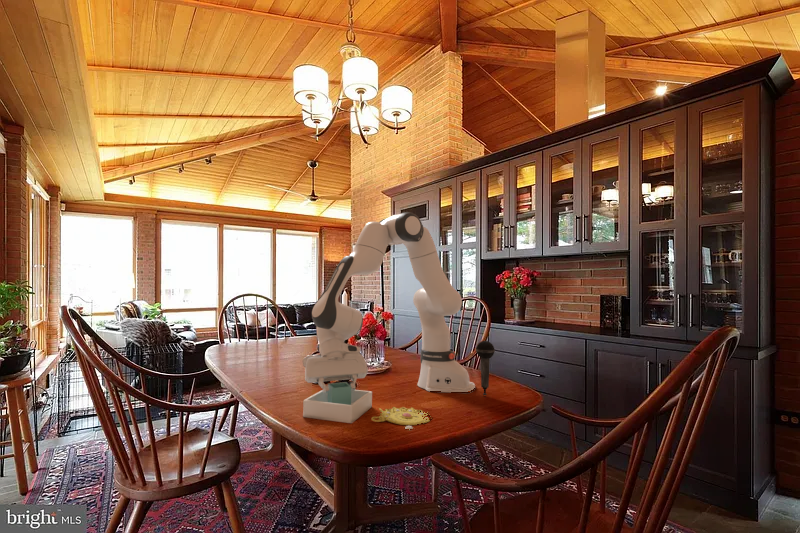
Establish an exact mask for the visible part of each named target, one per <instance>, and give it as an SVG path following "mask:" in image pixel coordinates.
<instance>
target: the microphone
mask: <svg viewBox="0 0 800 533" xmlns="http://www.w3.org/2000/svg"><path fill="white" fill-rule="evenodd" d="M475 351H476V354H477V356H478V357H479V358H480V383H481V384H480V386H481V388H482V389H483V394H482V395H487V390H488V389H489V387H490V384H489V382H490V365H491V364H490V362H491V358H492V357H493V356H494V354H495V352H496V349H495V347H494V345H493V343H492V342H491V341H488V340H483V341H480V342H478V344H477V345H476V347H475Z"/></svg>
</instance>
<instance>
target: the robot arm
mask: <svg viewBox="0 0 800 533" xmlns="http://www.w3.org/2000/svg"><path fill="white" fill-rule="evenodd" d="M422 223H423V222H422V221H421V219H420V217H419V216H418V215H417V214H415V213H414V212H407V211H406V212H401V213H396V214H393V215H391V216H389V217H387V218H384V219H381V220H379V221H369V222H367V223H365V225H364V226H363V228H362V230H361V232H360V233H359V235H358V237H357V241H356V243H355V245H354V248H353V250H352V251H351V253H350V254H349V255H346V256H344V257H343V258H342V259H341V260H340V261H339V263H338V264H337V266H336V267H335V269H334V272H333V273H332V275H331V277H330V279H329V281H328V283H327V284H326V286H325V288H324V290H323V292H322V293H321V295H320V296H319V298H318V299H317V300H316V302H315V303H314V305H313V307H312V309H311V312H310V314H311V319H312V321H313V324H314V326H316V327H315V329H316V338H317V341H318V343H319V344H318V350H319V354H312V355H311V354H309V355H306V356H305V357H303V358H302V365H303V367H304V381H305V382H307V383H309V384H311V383H318V386H319V387H320V388H321V389H322V390H323V393H329V386H328V384H327V385H326V384H325V383H324V382H331V381H332V382H334V381H342V380H343V381H346V380H351V382H352V383H349V385H350V386H351V391H353V390H357V389H356V382H357V379H365V377H366V376H367V375H368V371H369V370H368V366H367V365H368V364H367V363H366V360H365V358H364V356H363V354H361V348H360V346H356V345H352V344H348V343H345V341H346V340H349V339H351V338H353V337H354V336H355V335H357V334H358V333H359V332H360V331H361V330H362V327H363V322H364V318H363V313H362V312H361V311H360V310H358V309H356V308H355V307H351V306H349V305H346V304H344V303H342V302H340V301H339V297H340V296H341V293H342V291H343V290H344V288H345V286H346V284H347V282H348V280H349V279H350V278H351V277H352V276H357V275H358V276H365V275H367V276H368V275H371V274H374V273H376V272H377V271H378V270H379V269H380V268H381V266H382V263H383V261H384V257H385V255H386V251H387V248H388V247H389V246H393V245H402V244H403V245H404V247H405V248H406V249H407V254H408V258H409V260H410V264H411V268H412V271H413V274H414V277H415V279H416V280H417V281H418V282H419V283H420V285H421V286H422V287H421V288H419V289H417V290H416V291H415V292H414V294H413V300H412V302H413V305H414V307H415V308H416V310H417V312H418V316H419V321H420V327H421V349H420V358H419V360H420V373H419V376H418V377H419V378H418V380H417V381H418V382H417V385H416V386H418V387H419V388H421V389H424V390H426V391H427V392H430V391H441V392H440V393H451V392H468V391H471V390H473V389H474V388H475V389H476V384H475V383H474V382H473V381H470V375H469V372H468V370H467V368H465V367H464V366H463V365H461V364H460V363H459V362H458V361H457V360H456V359H455V358H456V351H453V350H451V329H450V328H449V326H448V325H447V323H446V320H445V317H447V316H453V315H455V314H457V313H459V311H460V310H461V308H462V305H463V304H462V303H463V301H462V296H461V294H460V293H459V292H458V291H457V290H456V289H455V288H454V286H452V284H451V282H450V281H449V279H448V277H447V276H446V274H445V272H444V270H443V267H442V265H441V264H442V263H441V260H440V258H439V254H438V251H437V248H436V244H435V242H434V239H433V237H432V235H431V233H430V230H429V229H428V228H426V227H424V225H423V224H422ZM475 389H474V390H475Z"/></svg>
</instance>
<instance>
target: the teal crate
mask: <svg viewBox="0 0 800 533" xmlns="http://www.w3.org/2000/svg"><path fill="white" fill-rule="evenodd" d="M327 385H328V386H329V393H328V402H330V403H339V404H347V405H351V386H350V383H348V382H347V381H344V382H343V381H342V382H341V381H340V382H332V383H331V382H330V383H327Z"/></svg>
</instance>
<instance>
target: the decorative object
mask: <svg viewBox="0 0 800 533" xmlns="http://www.w3.org/2000/svg"><path fill="white" fill-rule="evenodd" d="M378 410H379V412H380V413H379V416H372V417H371V421H373V422H376V423H379V422H381V423H384V422H386V421H387V422H389V423H393V424H396V425H400V426H404V427H405V429H409V430H408V431H411V430H410V429H413V428H414V427H413V426H418V425H417V424H419V425H422V424H421V423H423V424H426V423H429V422H431V421H430V420H429V418H428V417H425V416H427V415H428V414H429V413H428V412H429V411H427V413H428V414H427V413H425V412H426V411H423V410H422V409H415V408H414V407H410V408H407V407H405V406H402V407H395V406H392V408H385V409H384V410H383V409H382V408H380V407H379V408H378ZM420 411H421V412H420ZM423 412H424V413H423ZM418 413H419V414H418ZM424 414H426V415H424ZM422 416H423V417H422ZM424 417H425V418H424ZM423 418H424V419H423ZM426 419H427V420H426ZM405 429H404V430H405Z"/></svg>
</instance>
